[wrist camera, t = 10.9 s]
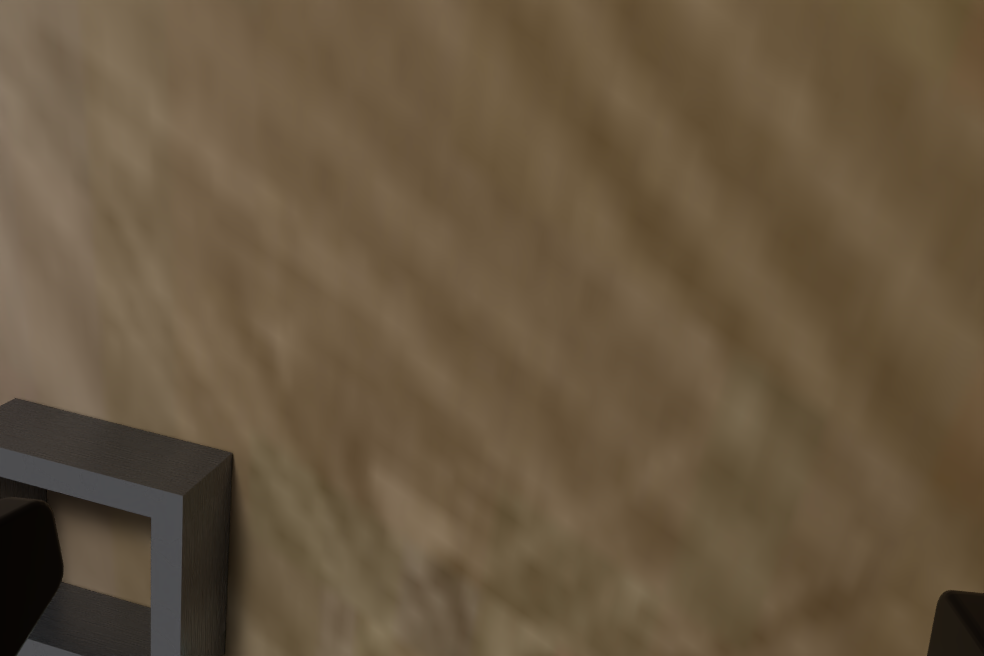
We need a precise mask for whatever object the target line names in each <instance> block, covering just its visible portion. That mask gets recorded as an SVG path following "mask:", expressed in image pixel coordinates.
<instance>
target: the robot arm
mask: <svg viewBox="0 0 984 656" xmlns="http://www.w3.org/2000/svg"><path fill="white" fill-rule="evenodd" d="M62 577H63V560H62V555H61V550H60V545H59V540H58V534H57V529H56V524H55V519H54V514H53V511H52V509H51V508H50V506H49V505H48V504H47V503H46V502H44V501H42V500H37V499H27V498H17V497H9V498H4V499H1V500H0V656H17V655H18V653H19V652H20V650H21V648H22V647H23V645H24V644H25V642H26V640H27V639H28V637H29V636H30V634H31V632H32V631H33V629H34V628H35V626H36V624H37V623H38V621H39V620H40V618H41V616H42V615H43V613H44V612H45V610H46V608H47V607H48V605H49V604H50V602H51V600H52V599H53V597H54V596H55V594H56V592H57V591H58V589H59V586H60V584H61V581H62ZM927 656H984V593H975V592H965V591H954V590H948V591H946V592H944V593H943V594H942V595H941V596H940V598H939V600H938V603H937V606H936V612H935V617H934V622H933V627H932V633H931V638H930V643H929V648H928V654H927Z"/></svg>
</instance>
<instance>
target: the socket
mask: <svg viewBox="0 0 984 656" xmlns="http://www.w3.org/2000/svg"><path fill="white" fill-rule="evenodd" d="M231 472H232V453H231V452H227V451H223V450H219V449H215V448H211V447H207V446H203V445H199V444H195V443H191V442H187V441H183V440H179V439H175V438H171V437H167V436H163V435H159V434H155V433H151V432H147V431H143V430H139V429H135V428H132V427H128V426H124V425H120V424H116V423H112V422H108V421H104V420H100V419H96V418H92V417H88V416H84V415H80V414H76V413H72V412H68V411H64V410H60V409H56V408H52V407H48V406H44V405H40V404H36V403H33V402H29V401H25V400H21V399H17V398H15V399H13V400H11V401H9V402H7V403H5V404H3V405H1V406H0V500H1V499H4V498H9V497H17V498H27V499H37V500H42V501H44V502H46V489H48V490H52V491H55V492H59V493H63V494H66V495H70V496H74V497H77V498H81V499H85V500H88V501H92V502H96V503H99V504H103V505H107V506H110V507H114V508H118V509H122V510H125V511H129V512H133V513H136V514H140V515H144V516H147V517H151V608H149V607H145V606H142V605H138V604H135V603H132V602H128V601H125V600H121V599H118V598H114V597H111V596H108V595H104V594H101V593H97V592H94V591H90V590H87V589H84V588H80V587H77V586H73V585H70V584H66V583H63V582H61V584H60V586H59V589H58V591H57V592H56V594H55V596H54V597H53V599H52V600H51V602H50V604H49V605H48V607H47V608H46V610H45V612H44V613H43V615H42V616H41V618H40V620H39V621H38V623H37V624H36V626H35V628H34V629H33V631H32V632H31V634H30V636H29V637H28V639H27V640H26V642H25V644H24V645H23V647H22V648H21V650H20V652H19V653H18V655H17V656H223V655H224V654H225V629H226V603H227V577H228V550H229V524H230V498H231Z"/></svg>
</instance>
